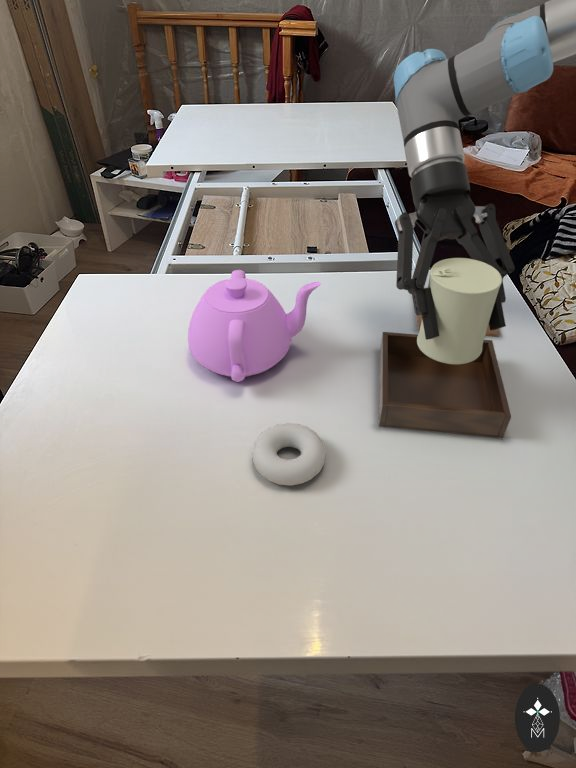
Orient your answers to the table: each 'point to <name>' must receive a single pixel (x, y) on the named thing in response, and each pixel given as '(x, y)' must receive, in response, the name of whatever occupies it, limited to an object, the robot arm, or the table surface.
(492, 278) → the can
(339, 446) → the table surface
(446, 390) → the tray
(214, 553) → the table surface
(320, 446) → the donut
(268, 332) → the teapot
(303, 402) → the table surface
